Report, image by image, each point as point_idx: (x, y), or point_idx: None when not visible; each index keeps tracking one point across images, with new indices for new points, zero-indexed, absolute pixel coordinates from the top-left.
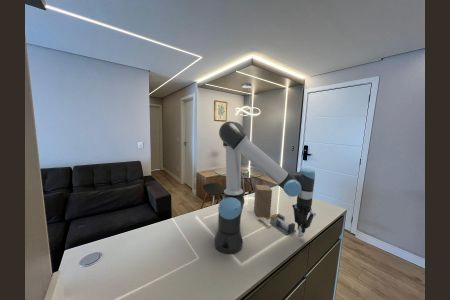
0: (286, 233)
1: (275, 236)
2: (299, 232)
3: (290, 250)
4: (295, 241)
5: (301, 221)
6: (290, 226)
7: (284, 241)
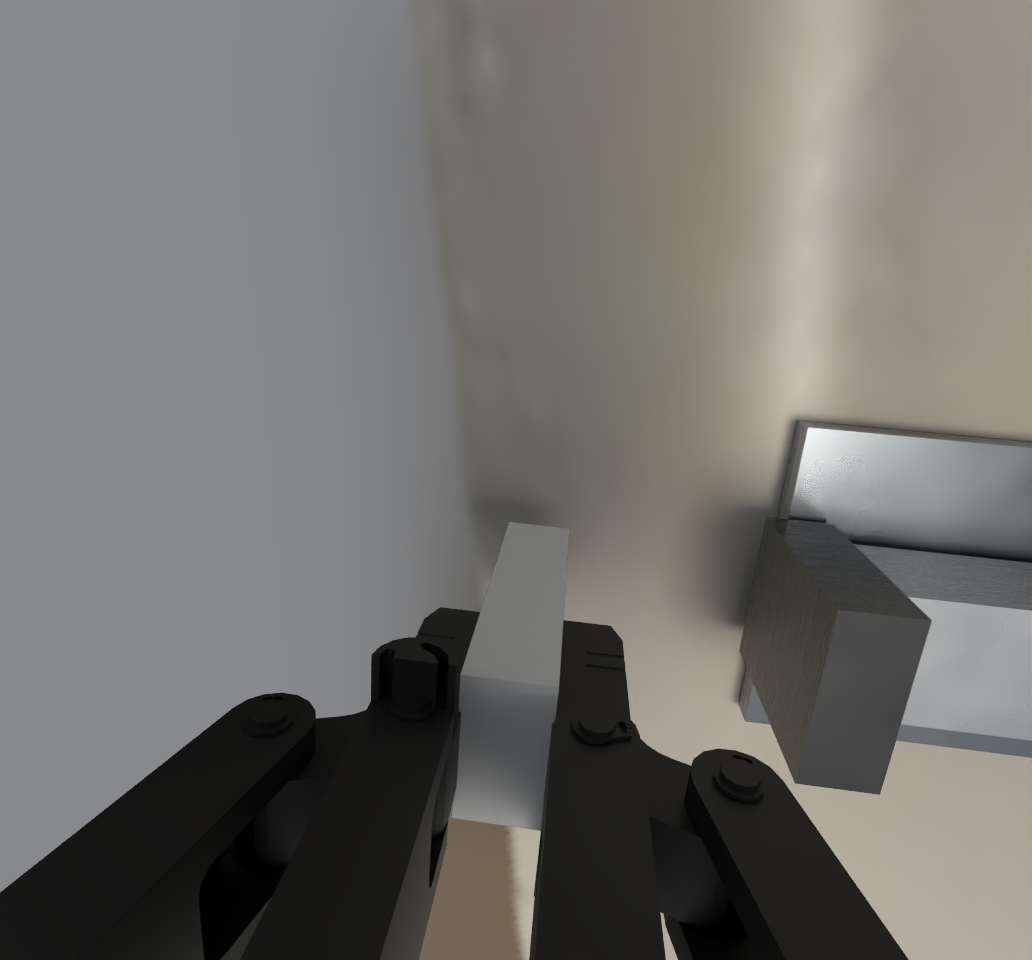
0: (825, 455)
1: (964, 145)
2: (531, 579)
3: (447, 44)
4: (562, 416)
5: (533, 915)
6: (836, 597)
7: (706, 192)
